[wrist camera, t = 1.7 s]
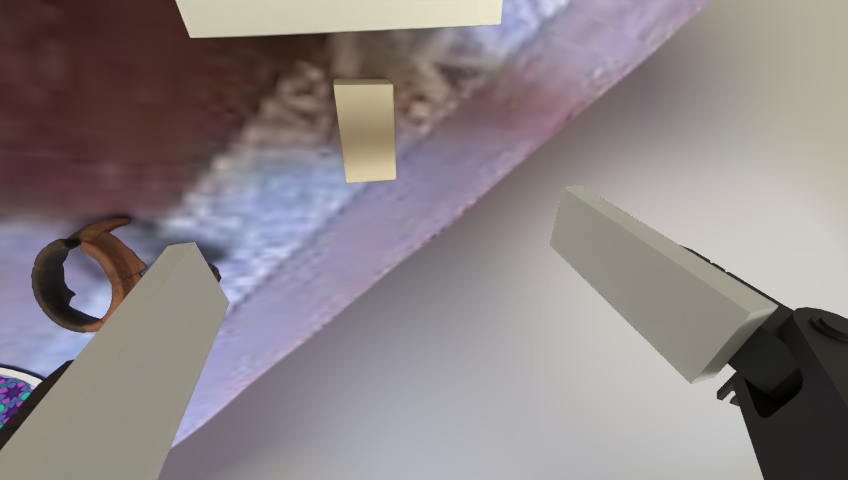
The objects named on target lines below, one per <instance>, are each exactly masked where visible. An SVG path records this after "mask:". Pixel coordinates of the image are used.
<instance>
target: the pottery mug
mask: <svg viewBox="0 0 848 480" xmlns="http://www.w3.org/2000/svg"><path fill="white" fill-rule="evenodd" d="M129 223H130V219H125V218H116V219H112V220H105V221H101V222H100V223H95V224H90V225H87V226H85V227H83V228H82V229H80V230H79V231H77V232H75V233H74V234H72V235H71V236H70V237H69V238H68V239H58V240H55V241H54V242H51V243H50V244H48V245H47V246H46V247H45V248H43V249H42V250H41V251H40V253H39V254H38V255H37V257H36V259H35V262H34V267H33V270H32V274H31V277H32V288H33V292H34V296H35V298H36V301H37V302H38V304H39V306H40V307H41V308H42V310H43V312H44V313H45V314H46V315H47V316H48V317H49V318H50V319H51V320H52V321H54V322H55V323H56V324H58V325H59V326H61V327H63V328H66V329H68V330H71V331H75V332H80V333H85V332H97V331H99V329H100V328H101V327H102V326H103V324H104V323H105V322H106V321H107V320H108V318H109V317H110V316H111V315H112V313H113V312H114V311H115V310H116V309H117V307H118V306H119V305H120V304H121V302H122V301H123V300H124V299H125V298H126V296H127V295H128V294H129V293H130V291H131V290H132V289H133V288H134V287H135V285H136V284H137V283H138V282H139V280H140V279H141V278H142V275H140V273H141V272H142V271H143V270H145V269H147V266H146V265H145V263H143V262H142V261H141V260H140V259H139V258H138V257H137V256H136V254H135V253H134V252H133V251H132V250H131V249H129V248H128V247H127V246H125V245H124V244H123V243H122V242H121V241H120V240H119V239H118V238H117V237H115V236H114V235H112V234H110V233H109V232H111V231H112V230H114V229H115V228H118V227H121V226H125V225H128V224H129ZM80 244H81V247H80V250H81V251H83V252H85V253H86V254H88V255H90V256H91V257H93V258H94V259H96V260H97V261H98V262H99V264H100V265H101V266H102V268H103V269H104V270H105V272H106V274H107V276H108V278H109V280H110V282H111V284H112V300H111V304H110V307H109V310H108V311H107V313H106V315H105V316H104V317H103V318H101V319H99V318H95V317H92V316H89V315H87V314H85V313H83V312H81V311H78V310H76V309H73V308H72V307H70V306H69V303H70V300H71V298H72V297H73V296H75V295H76V294H75V293H74V292H73V291H71V290H70V289H69V288H68V287H67V285H66V284H65V281H64V267H63V262H64V261H65V260H66V257H67V255H68V252H69V250H70V249H73V248H75V247H77V246H79V245H80ZM207 264H208V266H209V268H210V269H211V271H212V273H213V275H214V276H215V278H216V280H217V282H218V283H219V282H220V280H221V276H220V274H219V270H218V268H217V267H215V266H214V265H212V264H210V263H207Z"/></svg>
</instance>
